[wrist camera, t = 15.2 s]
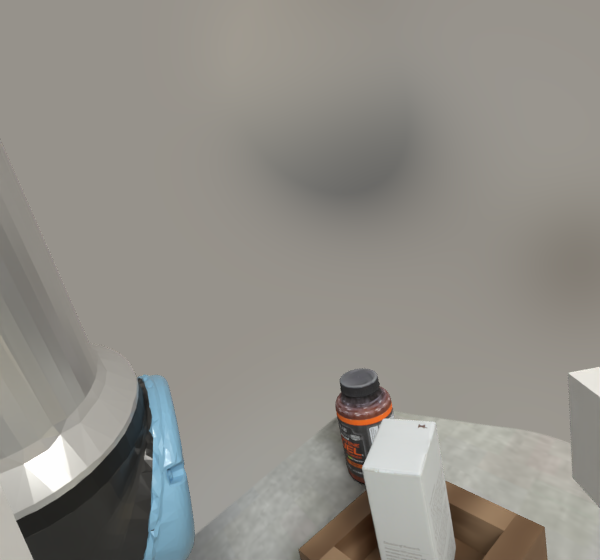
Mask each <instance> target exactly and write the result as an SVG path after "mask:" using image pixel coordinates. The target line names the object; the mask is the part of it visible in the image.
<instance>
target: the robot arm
mask: <svg viewBox="0 0 600 560" xmlns="http://www.w3.org/2000/svg"><path fill="white" fill-rule="evenodd" d="M568 383H569V384H568V385H569V408H570V430H571V454H572V477H573V479H574V480H575V481H576V482H577V483H578V484H579V485H580V486H581V487H582V489H583V490H584V491H585V492H586V493H587V494H588V495H589V496H590V498H591V499H592V500H593V501H594V502H595V503H596V504H597V505H598V507H599V508H600V367H597V368H592V369H586V370H581V371H576V372H570V373H568ZM194 531H195V530H194V520H193V512H192V506H191V499H190V492H189V487H188V481H187V476H186V472H185V470H184V460H183V455H182V446H181V441H180V436H179V431H178V425H177V420H176V415H175V410H174V406H173V401H172V397H171V393H170V389H169V385H168V382H167V380H166V379H165V378H164V377H162V376H160V375H152V376H148V375H143V376H140V377H136V374H135V372H134V370H133V369H132V367H131V365H130V364H129V362H128V360H127V359H126V358H125V357H124V356H122V355H121V354H120V353H118V352H116V351H114V350H112V349H110V348H108V347H105V346H101V345H97V344H91V343H89V341H88V338H87V336H86V334H85V332H84V329H83V327H82V325H81V323H80V320H79V318H78V316H77V313H76V311H75V309H74V306H73V304H72V302H71V300H70V297H69V295H68V293H67V290H66V288H65V286H64V284H63V281H62V279H61V277H60V274H59V272H58V270H57V268H56V265H55V263H54V261H53V258H52V256H51V254H50V252H49V249H48V247H47V245H46V242H45V240H44V238H43V235H42V233H41V231H40V229H39V226H38V224H37V222H36V220H35V217H34V215H33V213H32V210H31V208H30V206H29V203H28V201H27V199H26V197H25V194H24V192H23V190H22V188H21V185H20V183H19V181H18V178H17V176H16V174H15V171H14V169H13V167H12V165H11V162H10V160H9V158H8V155H7V153H6V151H5V149H4V146H3V144H2V142H1V140H0V560H186V559H187V558H188V556H189V555H190V553H191V550H192V548H193V544H194V539H195V532H194Z"/></svg>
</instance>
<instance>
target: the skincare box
mask: <svg viewBox="0 0 600 560" xmlns="http://www.w3.org/2000/svg"><path fill="white" fill-rule="evenodd" d="M362 471H363V476H364V481H365V485H366V490H367V495H368V500H369V505H370V509H371V514H372V519H373V524H374V528H375V533H376V538H377V543H378V547H379V552H380V557H381V560H454V558H455V551H456V545H455V539H454V532H453V526H452V520H451V513H450V507H449V501H448V495H447V489H446V483H445V476H444V470H443V464H442V457H441V451H440V444H439V438H438V432H437V427H436V423H435V422H432V421H417V420H404V419H383V420H382V422H381V424H380V427H379V429H378V431H377V434H376V436H375V438H374V441H373V443H372V446H371V448H370V450H369V453H368V455H367V458H366V460H365V462H364V464H363V466H362Z"/></svg>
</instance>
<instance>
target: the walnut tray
mask: <svg viewBox="0 0 600 560" xmlns="http://www.w3.org/2000/svg"><path fill="white" fill-rule="evenodd" d="M445 483H446V489H447V495H448V501H449V507H450V513H451V520H452V526H453V532H454V539H455V545H456V551H455V558H454V560H547V549H546V538H545V527H543V526H541V525H539V524H537V523H535V522H533V521H531V520H528V519H526V518H524V517H522V516H520V515H518V514H516V513H513V512H511V511H509V510H507V509H505V508H503V507H501V506H498V505H496V504H494V503H492V502H490V501H488V500H486V499H484V498H481V497H479V496H477V495H475V494H473V493H471V492H469V491H466V490H464V489H462V488H460V487H458V486H456V485H454V484H452V483H449V482H447V481H445ZM299 553H300V557H301V560H381V557H380V552H379V547H378V543H377V538H376V533H375V528H374V524H373V519H372V514H371V509H370V505H369V500H368V495H367V490H366V491H365V492H364V493H362V494H361V495H360V496H359V497H358V498H357V499H356V500H354V501H353V502H352V503H351V504H350V505H349V506H348V507H346V508H345V509H344V510H343V511H342V512H341V513H340V514H338V515H337V516H336V517H335V518H334V519H333V520H332V521H330V522H329V523H328V524H327V525H326V526H325V527H324V528H322V529H321V530H320V531H319V532H318V533H317V534H316V535H315V536H313V537H312V538H311V539H310V540H309V541H308V542H307V543H305V544H304V545H303V546H302V547H301V548H300V549H299Z"/></svg>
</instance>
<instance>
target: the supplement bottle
mask: <svg viewBox="0 0 600 560" xmlns="http://www.w3.org/2000/svg"><path fill="white" fill-rule="evenodd" d="M340 386H341V393H340V394H339V396H338V397H337V400H336V411H337V418H338V422H339V427H340V432H341V437H342V441H343V447H344V452H345V456H346V461H347V466H348V470H349V472H350V474H351V476H352V477H353V478H354V479H355V480H357V481H359V482H361V483H364V484H365V481H364V476H363V471H362V466H363V464H364V462H365V460H366V458H367V455H368V453H369V450H370V448H371V446H372V443H373V441H374V438H375V436H376V434H377V431H378V429H379V427H380V424H381V422H382V420H383V419H394V413H393V408H392V403H391V398H390V395H389V393H388V392H387V391H386V390H385V389H384V388H382V387H380V386H379V382H378V376H377V374H376V372H375V371H373V370H370V369H355V370H351V371H349V372H347V373H345V374H343V375H342V376H341V378H340Z"/></svg>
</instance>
